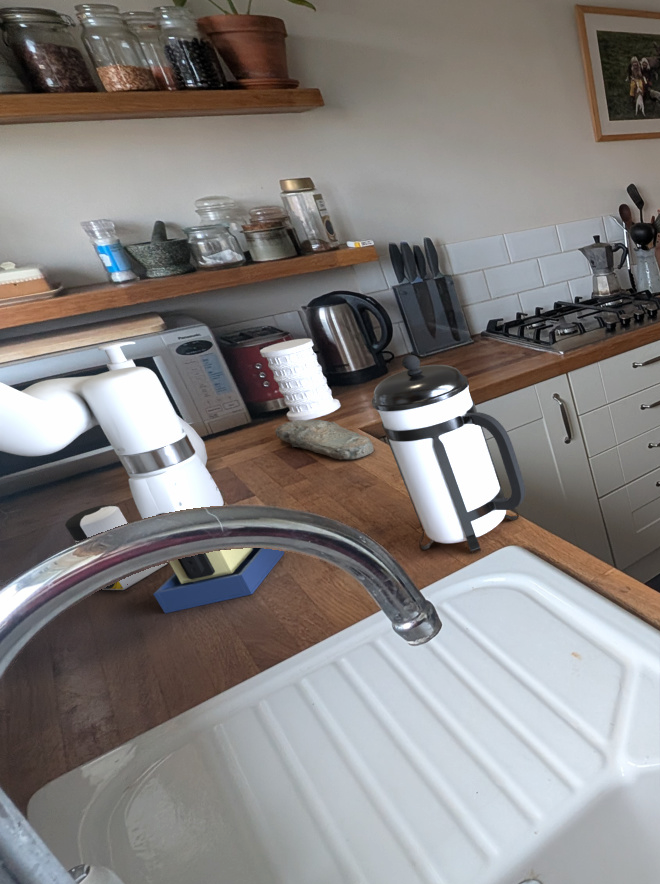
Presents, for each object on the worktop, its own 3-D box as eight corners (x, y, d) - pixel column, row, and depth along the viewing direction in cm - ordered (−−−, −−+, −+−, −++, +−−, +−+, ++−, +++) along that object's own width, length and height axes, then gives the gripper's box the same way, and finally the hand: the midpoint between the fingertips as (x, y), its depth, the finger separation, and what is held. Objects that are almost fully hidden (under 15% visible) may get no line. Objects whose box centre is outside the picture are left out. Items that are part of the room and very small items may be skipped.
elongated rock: (342, 474, 139) (390, 455, 146) (334, 450, 137) (384, 433, 144) (265, 440, 156) (312, 425, 164) (257, 419, 154) (305, 405, 162)
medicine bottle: (87, 590, 105) (44, 524, 100) (134, 562, 111) (96, 500, 106) (123, 591, 104) (82, 524, 99) (169, 563, 110) (132, 499, 105)
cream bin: (181, 584, 98) (164, 555, 96) (205, 559, 104) (190, 531, 102) (232, 573, 99) (217, 544, 97) (253, 549, 105) (239, 522, 103)
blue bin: (165, 613, 97) (153, 594, 95) (206, 569, 107) (196, 551, 105) (252, 594, 99) (241, 574, 97) (284, 553, 109) (275, 534, 108)
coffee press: (418, 575, 99) (340, 384, 86) (422, 526, 112) (355, 354, 100) (540, 537, 105) (484, 353, 93) (530, 495, 118) (480, 329, 106)
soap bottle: (230, 470, 144) (163, 337, 132) (164, 496, 135) (86, 356, 123) (195, 459, 152) (129, 333, 140) (131, 483, 143) (55, 351, 131)
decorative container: (332, 415, 170) (303, 346, 163) (280, 424, 167) (249, 355, 160) (346, 400, 180) (320, 335, 173) (298, 408, 178) (269, 343, 170)
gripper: (164, 437, 101) (217, 537, 108) (84, 489, 86) (152, 603, 93) (220, 427, 103) (269, 527, 110) (152, 477, 87) (214, 589, 94)
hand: (215, 561), depth 101 cm, fingers closed on cream bin, 6 cm apart
